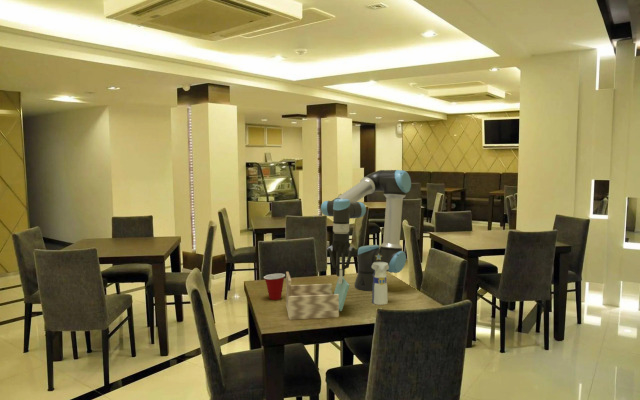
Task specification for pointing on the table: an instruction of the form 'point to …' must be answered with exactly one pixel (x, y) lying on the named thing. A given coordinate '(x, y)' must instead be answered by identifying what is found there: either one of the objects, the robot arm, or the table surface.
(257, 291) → the table surface
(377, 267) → the blue-banded white tube
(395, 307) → the table surface
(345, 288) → the teal flat panel
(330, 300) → the crate
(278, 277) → the plastic cup
